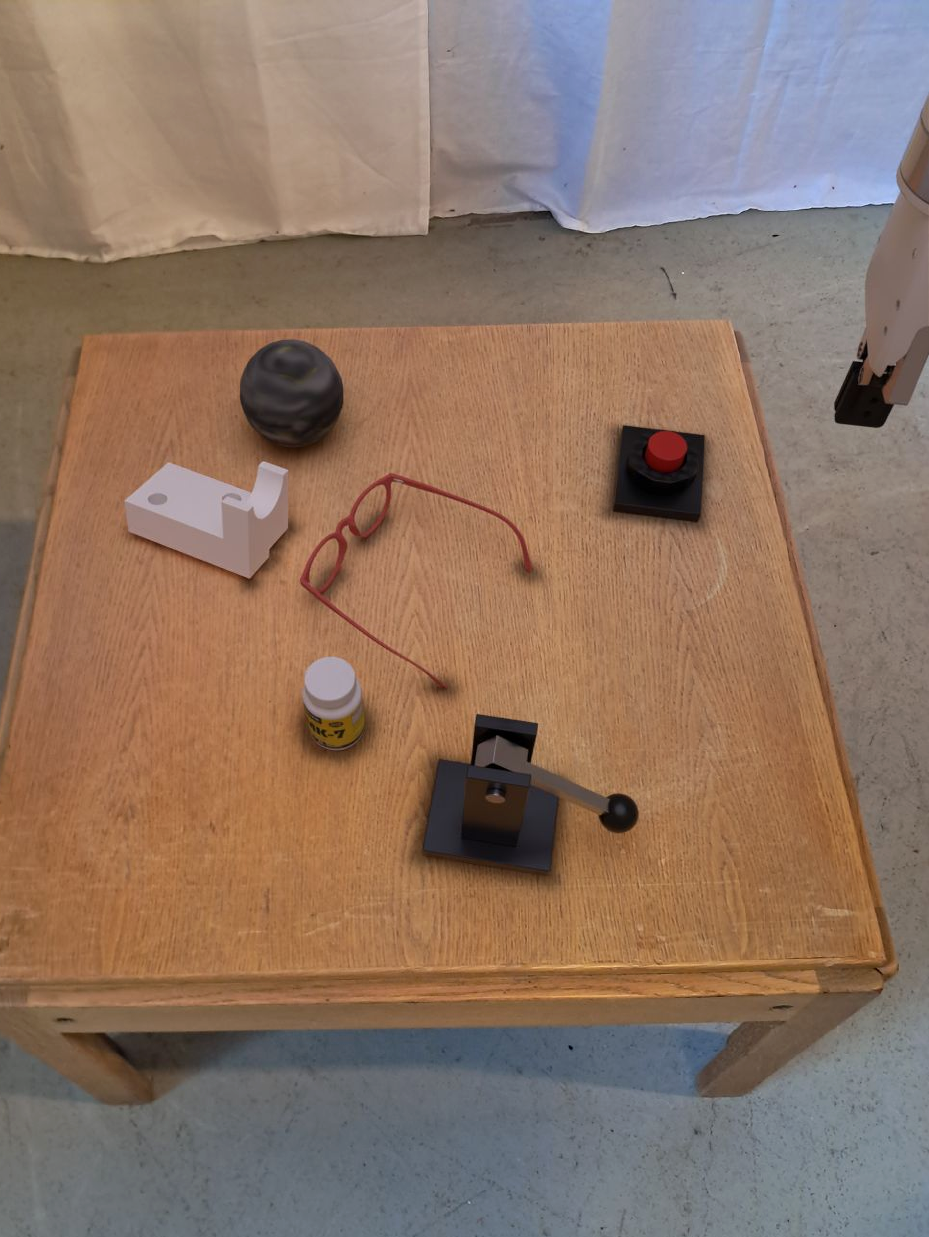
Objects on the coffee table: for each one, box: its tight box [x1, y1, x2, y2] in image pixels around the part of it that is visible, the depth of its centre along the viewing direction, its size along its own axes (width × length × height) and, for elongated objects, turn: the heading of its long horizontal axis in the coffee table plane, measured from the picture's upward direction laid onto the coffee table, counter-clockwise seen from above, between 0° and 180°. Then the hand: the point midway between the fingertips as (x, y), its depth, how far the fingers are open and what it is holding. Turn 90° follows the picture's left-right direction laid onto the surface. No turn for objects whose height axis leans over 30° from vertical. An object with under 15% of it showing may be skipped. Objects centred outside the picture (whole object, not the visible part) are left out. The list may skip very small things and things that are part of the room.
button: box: [645, 430, 687, 472], centre depth 96 cm, size 4×4×2 cm
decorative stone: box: [239, 338, 344, 448], centre depth 98 cm, size 10×10×10 cm
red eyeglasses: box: [299, 472, 533, 689], centre depth 90 cm, size 17×16×5 cm
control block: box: [612, 424, 706, 523], centre depth 97 cm, size 10×8×3 cm
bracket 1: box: [124, 460, 289, 580], centre depth 93 cm, size 13×7×8 cm, turn 65°
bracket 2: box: [421, 713, 560, 877], centre depth 76 cm, size 10×8×13 cm
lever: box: [474, 735, 640, 834], centre depth 74 cm, size 14×3×3 cm
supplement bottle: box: [301, 656, 366, 751], centre depth 82 cm, size 5×5×8 cm
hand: (857, 417), depth 69 cm, fingers closed
